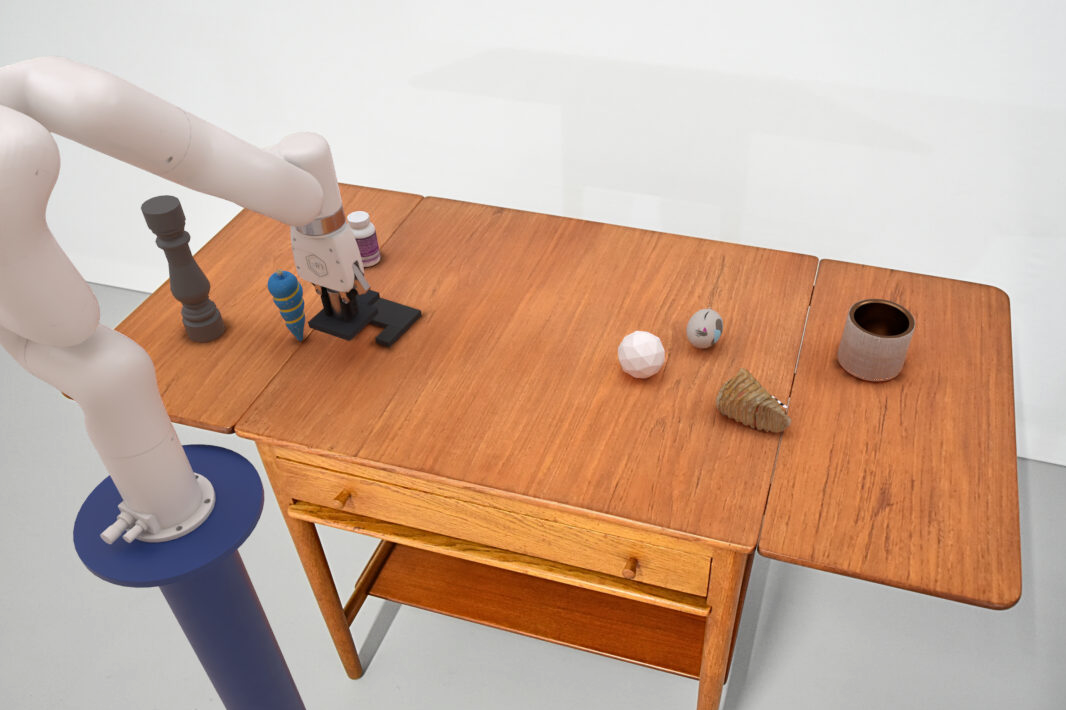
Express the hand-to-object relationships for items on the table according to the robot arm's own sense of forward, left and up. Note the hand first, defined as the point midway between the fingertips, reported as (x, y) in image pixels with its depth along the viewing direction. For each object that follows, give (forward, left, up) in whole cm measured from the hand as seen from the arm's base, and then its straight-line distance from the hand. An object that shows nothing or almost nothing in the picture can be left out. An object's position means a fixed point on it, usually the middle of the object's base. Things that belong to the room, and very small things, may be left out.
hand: (342, 313), depth 146 cm
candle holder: (-6, +26, -9) cm, 28 cm away
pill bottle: (+24, +14, -9) cm, 29 cm away
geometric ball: (+17, -46, -9) cm, 50 cm away
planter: (+36, -80, -9) cm, 88 cm away
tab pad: (+2, 0, -2) cm, 2 cm away
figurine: (+28, -53, -9) cm, 61 cm away
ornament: (-1, +10, -9) cm, 13 cm away
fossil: (+16, -66, -9) cm, 68 cm away
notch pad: (+8, 0, -9) cm, 12 cm away
